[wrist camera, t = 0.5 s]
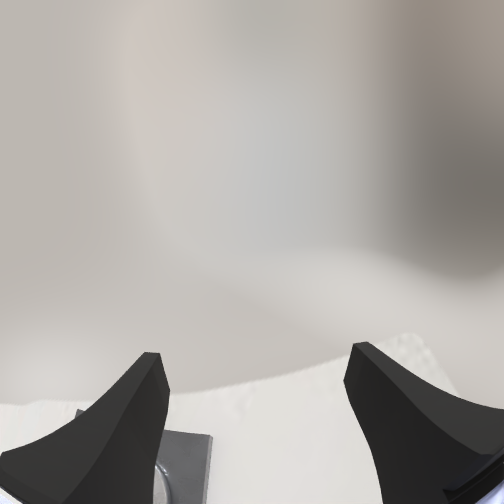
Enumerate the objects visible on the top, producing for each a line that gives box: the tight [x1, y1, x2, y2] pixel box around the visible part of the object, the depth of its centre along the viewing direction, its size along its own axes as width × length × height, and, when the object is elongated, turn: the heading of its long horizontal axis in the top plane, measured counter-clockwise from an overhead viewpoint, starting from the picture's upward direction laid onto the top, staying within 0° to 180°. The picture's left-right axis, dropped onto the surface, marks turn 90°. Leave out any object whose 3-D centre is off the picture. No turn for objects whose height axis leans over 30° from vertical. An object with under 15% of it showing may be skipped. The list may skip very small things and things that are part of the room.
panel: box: [75, 409, 213, 504], centre depth 16 cm, size 18×18×2 cm
